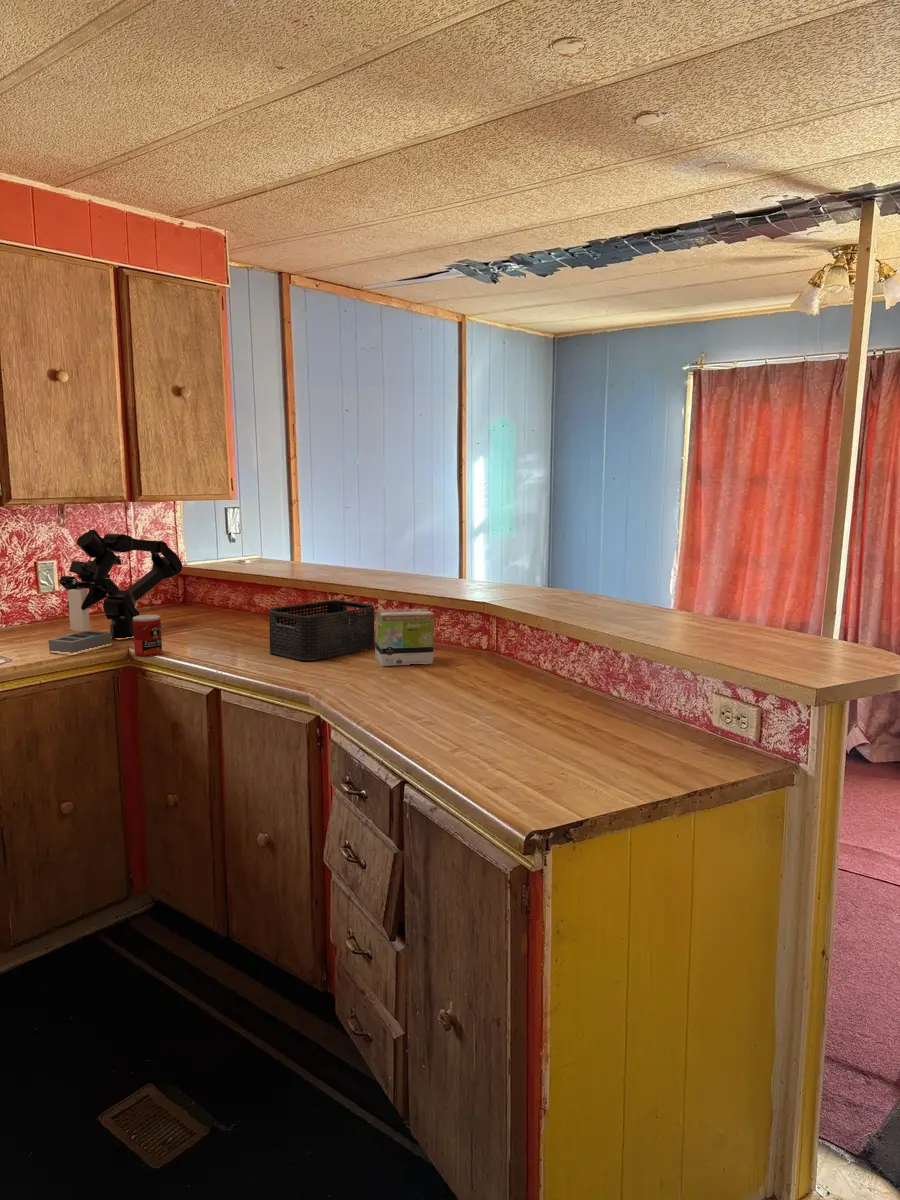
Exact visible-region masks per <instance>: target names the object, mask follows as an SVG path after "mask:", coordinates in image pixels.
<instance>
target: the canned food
mask: <svg viewBox="0 0 900 1200" xmlns="http://www.w3.org/2000/svg"><path fill="white" fill-rule="evenodd" d="M133 635H134V639H133V647H134V648H133V649H134V654H135V655H136V656H137V657H155V656H158V655H157V654H158V653H160V652H161V653H162V651H163V643H162V622H161V615H158V614H139V616H135V617H133Z"/></svg>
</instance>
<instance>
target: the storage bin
mask: <svg viewBox="0 0 900 1200" xmlns="http://www.w3.org/2000/svg"><path fill="white" fill-rule="evenodd" d="M347 607H349V608H355V609H351V610H348V608H347ZM268 612H269V614H268V615H269V617H268V618H269V624H268V625H269V653H271V654H272V655H276V656H278V657H279V656H280V657H285V658H287V659H292V660H296V661H320V660H325V659H329V658H334V657H335V658H336V657H339V656H343V655H344V656H345V655H349V654H352V653H353V652H354V653H357V652H356V651H359V652H362V651H361V650H363V651H366V650H365V649H368V650H370V648H371V649H374V648H375V605H373V604H367V603H360V602H354V601H348V600H343V599H342V600H340V599H331V600H323V601H322V600H321V601H317V602H308V603H301V604H300V603H299V604H295V605H287V606H280V607H279V606H278V607H273V608H269V610H268ZM373 647H374V648H373ZM348 653H349V654H348ZM354 653H353V654H354Z"/></svg>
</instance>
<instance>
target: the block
mask: <svg viewBox="0 0 900 1200" xmlns="http://www.w3.org/2000/svg"><path fill="white" fill-rule="evenodd" d="M87 595H88V589H82V590H81V589H71V590H68V591H67V603H68V602H69V609H68V613H69V625H70V626H69V628H70V631H77V632H84V631H91V624H90V612H89V611H90V610H89V607H88V608H87V609H85V610H82V609H81V606H82V604H83V602H84V600H85V598H86V597H87Z"/></svg>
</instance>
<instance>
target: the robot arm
mask: <svg viewBox="0 0 900 1200" xmlns="http://www.w3.org/2000/svg"><path fill="white" fill-rule="evenodd" d="M76 545H77V547H79V548H80V549H81V550H82V551H83V552H84V553H85V554H86V556H87V557H89V558H90V559H92V558H93V560H87V561H79V560H76V561H75V560H72V561H71V564H70V567H69V570H68V572H69V573H74V574H76V575H77V576H76V577H78V578H79V579H80V580H78V579H77V578H76V577H75V576H73V575H62V576H61V577H60V579H58V583H59V584H60V585H61V586H62V588H63V589H65V590H66V591H67V592H68V590H71V589H81V590H83V589H84V590H88V592H87V597H86V598H85V600H84V602H83V604H82V606H81V609H82V610H85V609H87V608H88V609H89V608H90V607H91V606H93V605H95V604H96V603H98V602H100V601H102V600H103V604H102V608H103V611H104V614H105V617H106V619H107V620H110V622H111V623H110V624H109V631H110V632H109V633H111V637H112V638H126V637H132V636H134V635H133V617H135V616H139V615H140V612H139V611H138V609H136V604H137V601H139V600H140V599H141V598H143V597H145V595H146V594H148V592H150V591H151V590H153V588H155V587H156V586H157V585H158V584H160V583H161V582H162V581H163V580H166V579H170V578H173V577H175V576H177V575H180V573H181V572H182V569H183V562H182V561H181V559H180V558H179V556H178V555H177V553H176V552H175V551H174V550H172V549H171V548H170V547H169V546H168V544H167V543H166V542H165V541H163V540H150V539H139V538H138V539H137V538H134V537H132V536H131V535H127V534H123V533H106V534H105V535H104V537H101V535H100V534H99V533H98V531H97V530H96V529H89V530H88V531H86V532H84V533H83V534H81V535H80V536H79V537H78V538H77V540H76ZM132 551H138V552H140V551H142V552H150V554H151V555H150V556H151V558H150V559H151V561H152V567H151V570H150V571H149V572H147V573H145V575H143V576H142V577H141V578H139V579H138V580H137V581H135V583H133V584H131V586H129V587H128V588H127V589H125V590H122V589H120V588H119V586H118V585H117V584H116V583H115V582H114V581H113V580H112V579H111V575H110V574H109V573H110V572H111V570H112V568H113V567H114V565H116V566H117V565H122V560H121V556H120V555H116V554H115V553H120V554H121V553H129V552H132ZM160 554H161V555H162V556H161V555H160ZM66 608H67V609H68V610H69V602H68V601H67V604H66Z"/></svg>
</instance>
